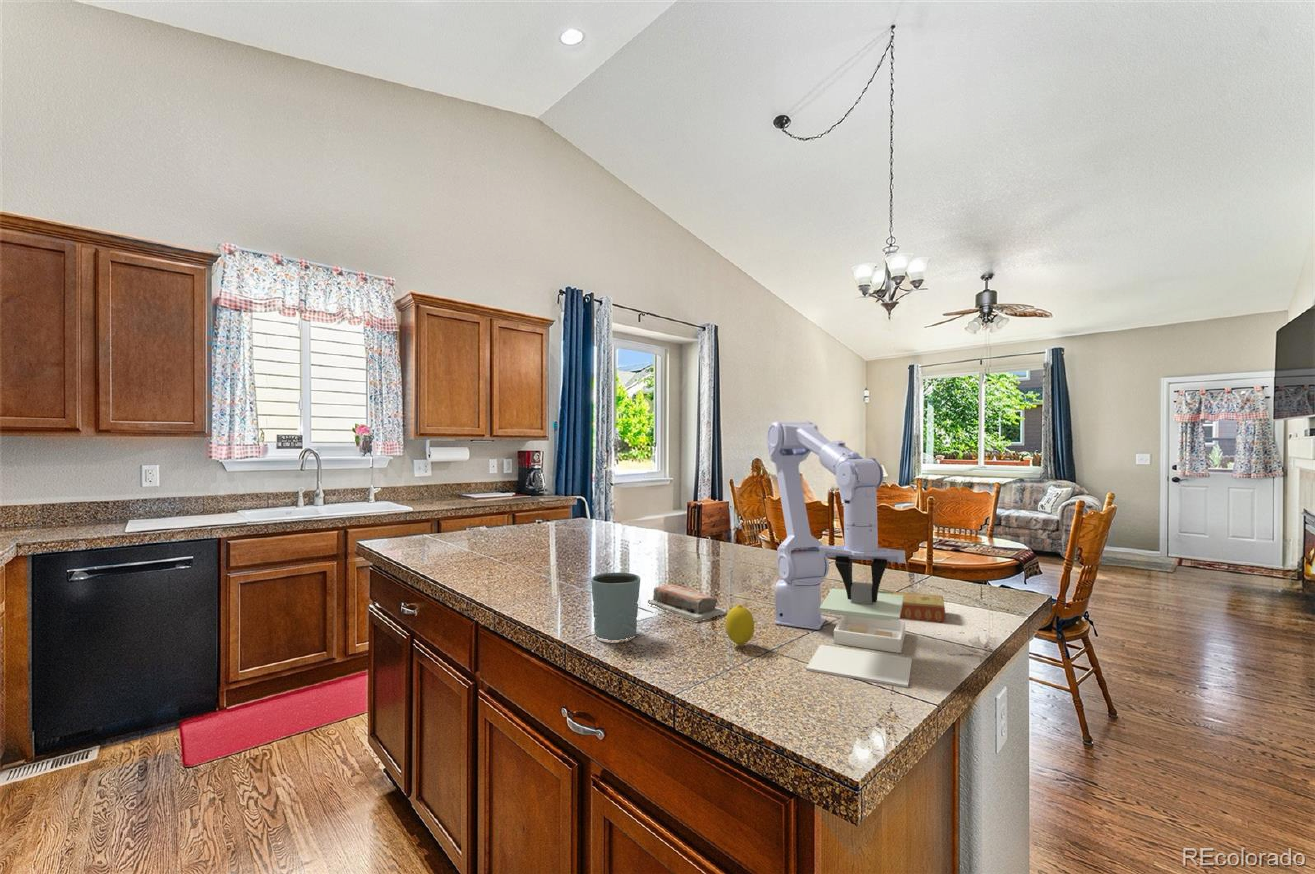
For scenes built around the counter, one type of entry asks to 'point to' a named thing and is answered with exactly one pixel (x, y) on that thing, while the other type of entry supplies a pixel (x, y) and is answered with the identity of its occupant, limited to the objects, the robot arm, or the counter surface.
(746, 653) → the counter surface
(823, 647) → the mat
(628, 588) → the grey-green cup
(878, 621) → the box
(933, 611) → the carton
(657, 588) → the packaged product
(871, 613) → the lid
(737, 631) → the lemon
